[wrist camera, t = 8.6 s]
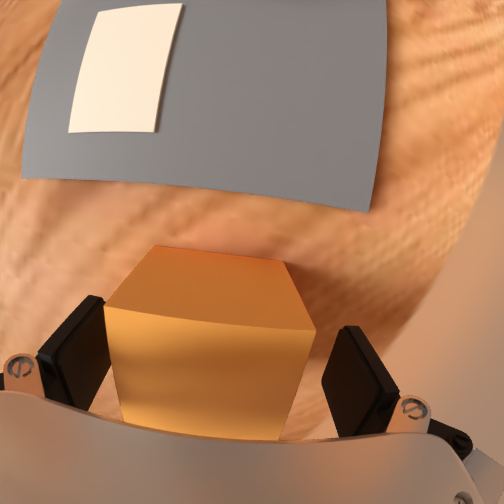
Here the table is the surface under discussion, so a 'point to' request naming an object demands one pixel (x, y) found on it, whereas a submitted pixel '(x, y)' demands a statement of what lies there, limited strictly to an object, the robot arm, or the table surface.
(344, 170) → the board
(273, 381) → the orange foam cube
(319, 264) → the table surface
